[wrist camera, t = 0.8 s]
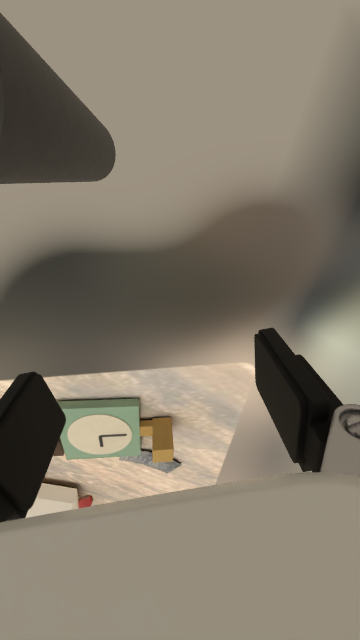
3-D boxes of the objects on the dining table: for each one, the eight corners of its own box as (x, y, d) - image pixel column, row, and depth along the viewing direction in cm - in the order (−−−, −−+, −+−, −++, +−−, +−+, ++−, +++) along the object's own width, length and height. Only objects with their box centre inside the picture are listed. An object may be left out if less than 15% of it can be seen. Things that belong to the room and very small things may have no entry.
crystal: (87, 505, 43) (-76, 481, 36) (70, 546, 42) (-100, 530, 35) (88, 477, 50) (-48, 453, 43) (73, 512, 49) (-67, 493, 42)
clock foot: (39, 400, 35) (36, 405, 34) (51, 400, 36) (48, 405, 35) (55, 450, 41) (53, 456, 40) (65, 449, 41) (63, 455, 41)
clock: (55, 401, 35) (40, 435, 31) (172, 397, 37) (175, 428, 32) (69, 451, 41) (58, 486, 37) (169, 445, 43) (171, 478, 38)
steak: (96, 496, 50) (82, 493, 49) (95, 499, 49) (81, 497, 48) (76, 518, 53) (63, 516, 52) (76, 521, 53) (62, 519, 52)
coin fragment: (112, 457, 44) (112, 459, 43) (124, 442, 42) (124, 445, 41) (172, 473, 48) (172, 475, 48) (185, 460, 46) (185, 463, 46)
